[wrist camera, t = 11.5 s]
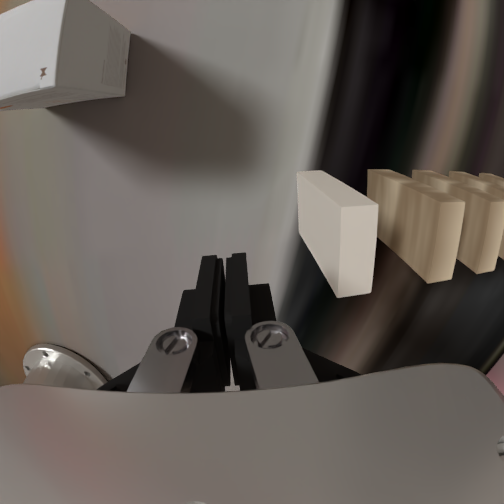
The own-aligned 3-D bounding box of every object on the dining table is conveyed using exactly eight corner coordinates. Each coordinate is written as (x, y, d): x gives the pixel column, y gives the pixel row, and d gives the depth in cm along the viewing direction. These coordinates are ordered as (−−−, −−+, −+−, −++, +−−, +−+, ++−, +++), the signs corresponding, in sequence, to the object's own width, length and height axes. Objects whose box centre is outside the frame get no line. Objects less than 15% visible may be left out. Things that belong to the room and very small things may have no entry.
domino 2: (388, 169, 23) (465, 201, 14) (385, 225, 25) (451, 279, 16) (367, 169, 23) (440, 202, 14) (365, 226, 25) (427, 283, 16)
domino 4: (463, 171, 24) (538, 202, 15) (458, 220, 26) (525, 263, 17) (449, 171, 24) (526, 201, 15) (444, 221, 26) (512, 266, 17)
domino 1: (321, 170, 23) (378, 204, 14) (322, 230, 25) (370, 292, 16) (296, 171, 23) (341, 207, 14) (298, 232, 25) (337, 297, 16)
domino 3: (429, 170, 24) (508, 201, 14) (425, 222, 26) (494, 270, 16) (412, 169, 23) (490, 201, 14) (408, 223, 26) (476, 274, 16)
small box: (133, 31, 17) (74, -17, 8) (127, 98, 20) (57, 87, 10) (47, 48, 17) (-34, 28, 7) (42, 109, 19) (-44, 117, 9)
